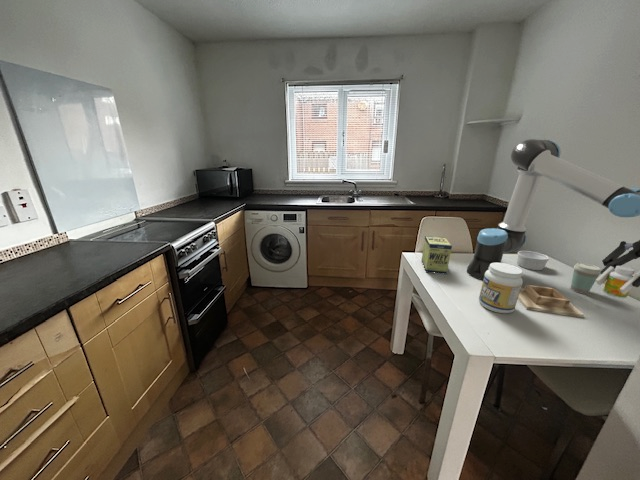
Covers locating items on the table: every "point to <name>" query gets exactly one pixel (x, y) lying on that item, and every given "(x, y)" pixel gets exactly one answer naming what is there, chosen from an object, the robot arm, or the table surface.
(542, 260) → the ramekin
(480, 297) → the supplement tub
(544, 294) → the birch rack
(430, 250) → the protein box
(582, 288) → the coffee cup
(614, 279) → the supplement bottle
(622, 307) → the table surface
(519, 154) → the robot arm
